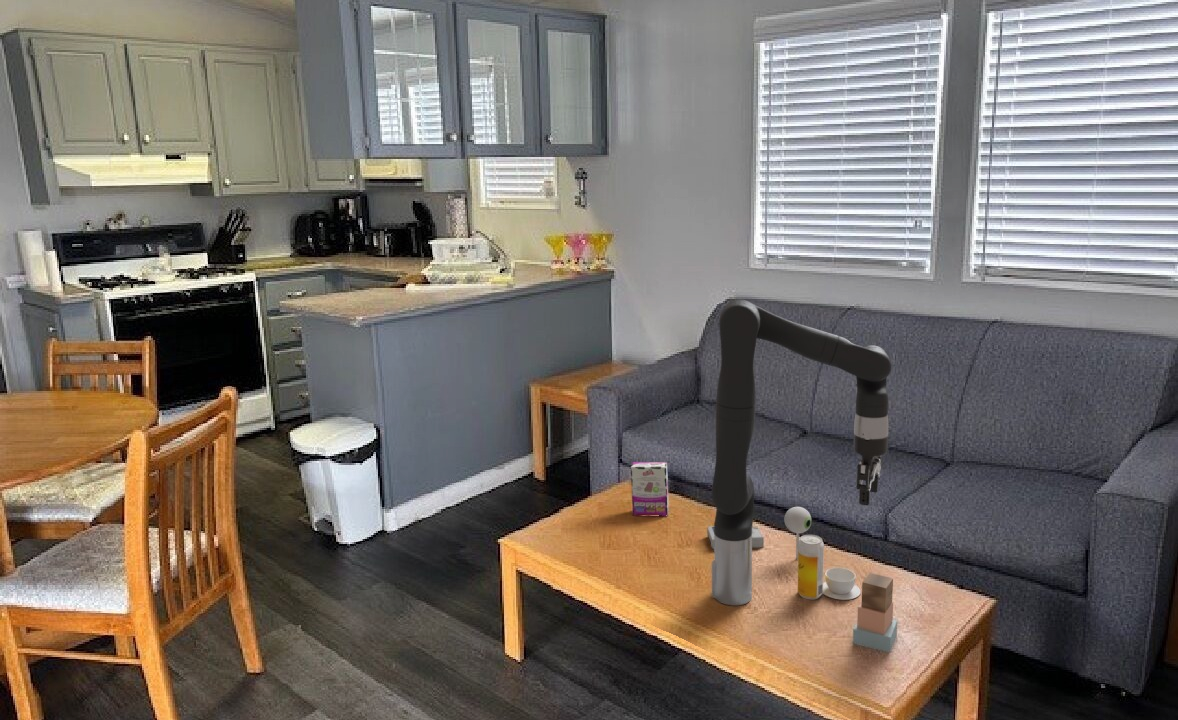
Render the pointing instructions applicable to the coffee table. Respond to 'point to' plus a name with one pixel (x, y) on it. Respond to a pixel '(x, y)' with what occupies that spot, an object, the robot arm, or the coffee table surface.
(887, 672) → the coffee table surface
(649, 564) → the coffee table surface
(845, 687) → the coffee table surface
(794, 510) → the lollipop
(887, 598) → the walnut block
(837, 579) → the teacup
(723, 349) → the robot arm
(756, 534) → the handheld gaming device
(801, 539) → the beer can
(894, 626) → the tower base
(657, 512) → the candy bar box
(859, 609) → the tower top
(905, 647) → the coffee table surface
